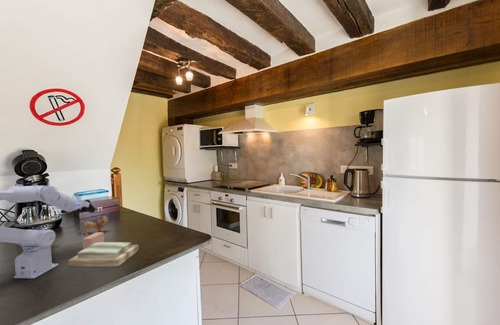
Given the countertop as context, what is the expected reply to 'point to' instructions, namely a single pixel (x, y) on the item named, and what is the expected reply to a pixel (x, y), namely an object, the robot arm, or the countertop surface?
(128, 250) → the tower base
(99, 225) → the lion figurine
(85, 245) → the terracotta brick
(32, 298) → the countertop surface
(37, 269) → the robot arm
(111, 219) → the countertop surface
